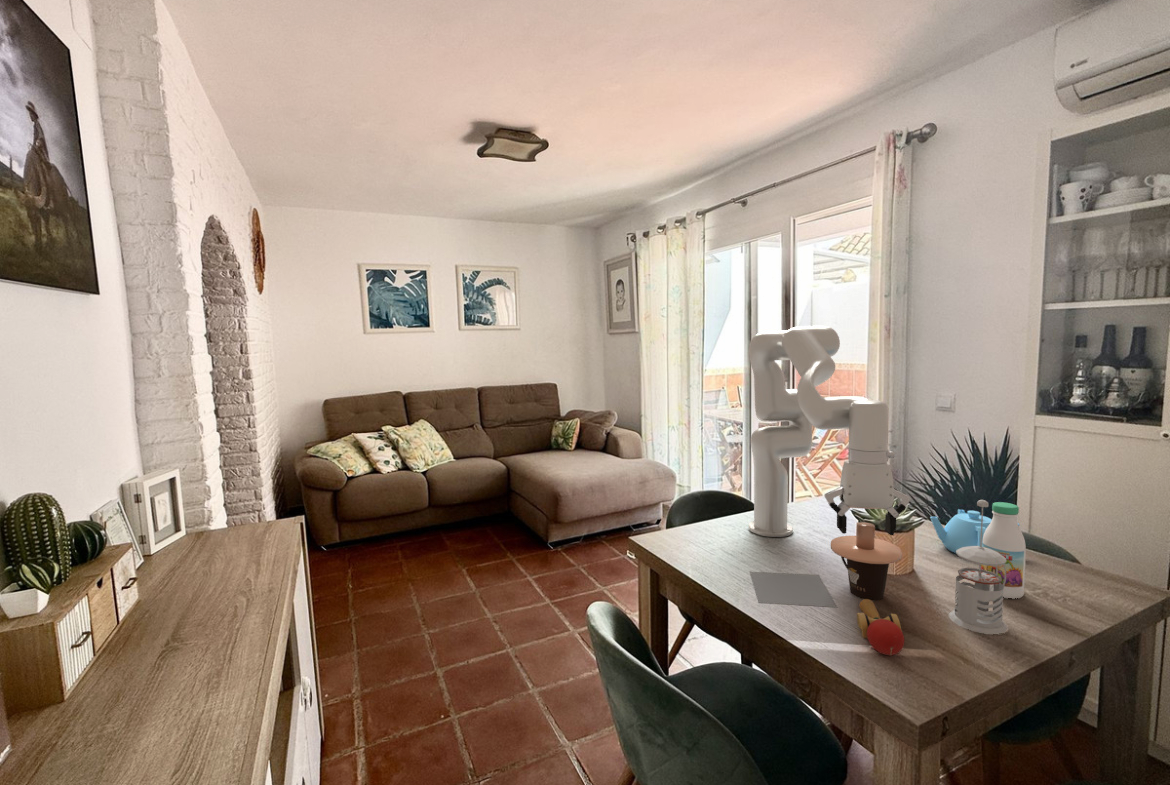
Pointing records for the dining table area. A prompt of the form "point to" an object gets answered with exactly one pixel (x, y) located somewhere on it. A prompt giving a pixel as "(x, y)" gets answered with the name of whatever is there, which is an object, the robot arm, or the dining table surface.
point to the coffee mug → (866, 579)
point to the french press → (979, 590)
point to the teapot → (962, 530)
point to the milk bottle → (1007, 548)
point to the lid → (866, 547)
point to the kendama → (880, 629)
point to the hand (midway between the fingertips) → (865, 532)
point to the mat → (791, 589)
